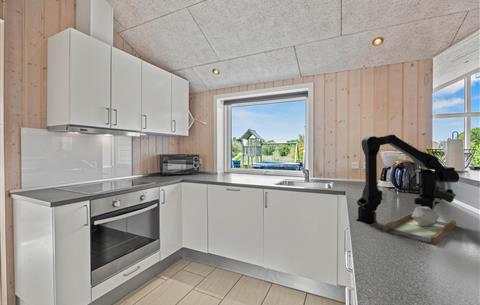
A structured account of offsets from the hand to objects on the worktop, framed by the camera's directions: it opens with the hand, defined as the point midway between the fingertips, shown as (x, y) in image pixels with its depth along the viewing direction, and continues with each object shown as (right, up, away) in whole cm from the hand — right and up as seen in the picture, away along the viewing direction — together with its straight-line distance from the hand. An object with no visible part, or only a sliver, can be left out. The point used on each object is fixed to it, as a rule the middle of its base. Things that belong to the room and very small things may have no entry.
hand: (429, 217), depth 97 cm
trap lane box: (-8, -3, -5) cm, 10 cm away
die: (-4, -3, -3) cm, 6 cm away
